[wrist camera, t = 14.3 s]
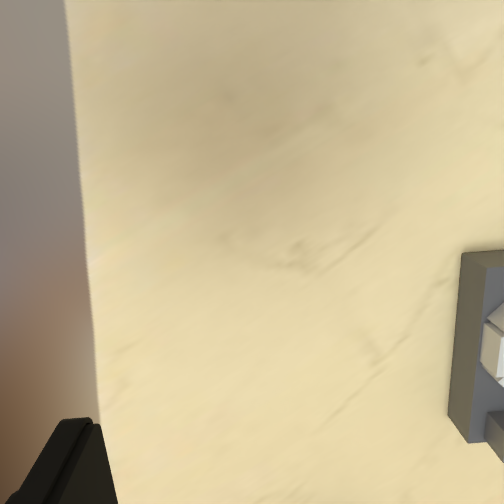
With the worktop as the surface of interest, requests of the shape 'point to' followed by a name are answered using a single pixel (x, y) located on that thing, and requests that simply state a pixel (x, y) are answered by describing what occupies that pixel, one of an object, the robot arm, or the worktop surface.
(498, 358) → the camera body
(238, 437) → the worktop surface
